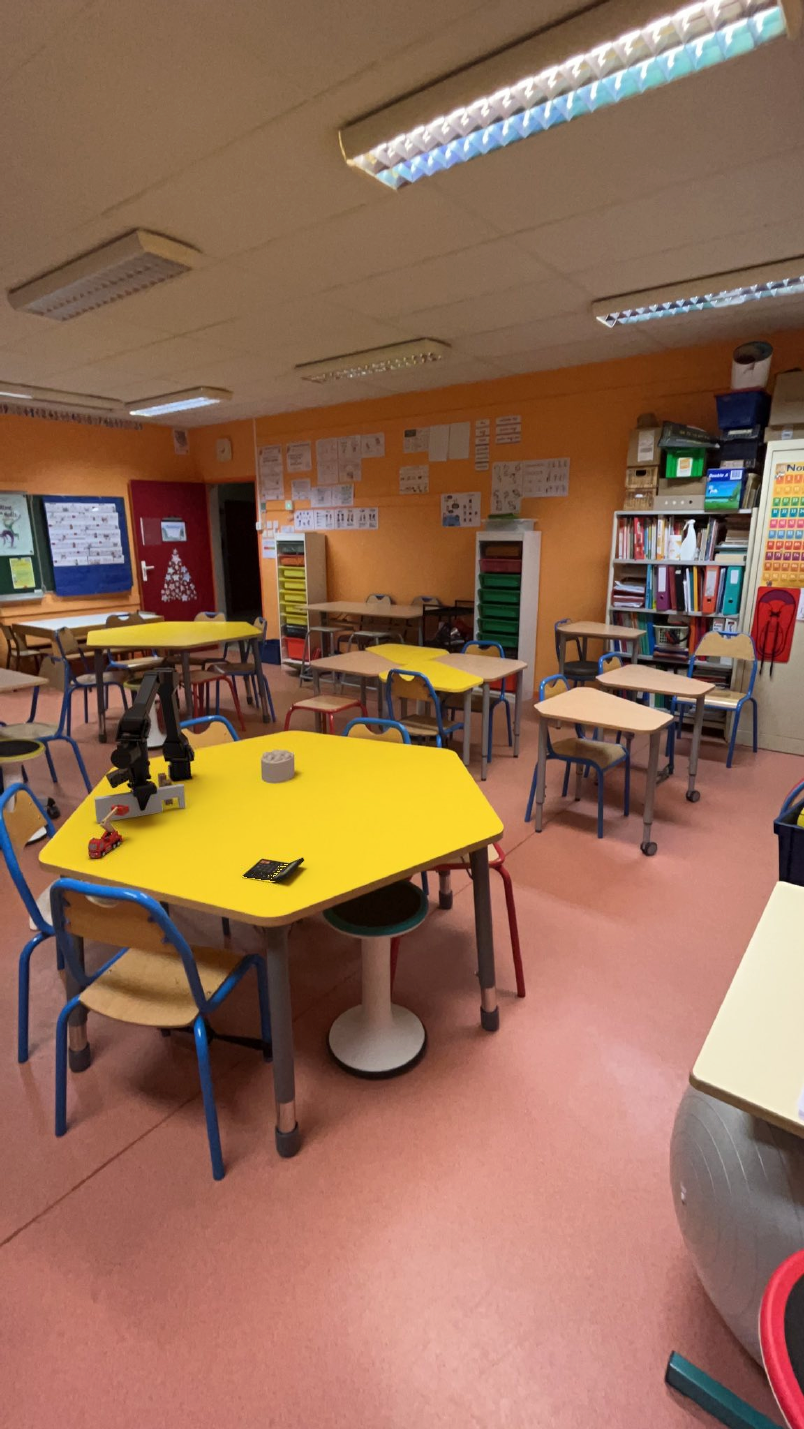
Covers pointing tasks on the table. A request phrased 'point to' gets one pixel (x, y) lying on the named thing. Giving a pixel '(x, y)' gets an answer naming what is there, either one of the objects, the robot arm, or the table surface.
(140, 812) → the grey board
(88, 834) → the table surface
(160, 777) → the walnut stand
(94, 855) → the toy fire truck
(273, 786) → the table surface
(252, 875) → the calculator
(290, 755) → the lumpy-topped squat cylinder
